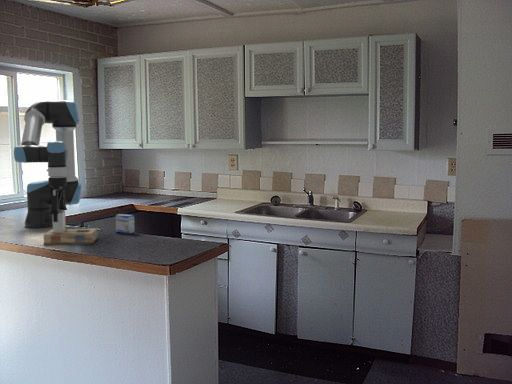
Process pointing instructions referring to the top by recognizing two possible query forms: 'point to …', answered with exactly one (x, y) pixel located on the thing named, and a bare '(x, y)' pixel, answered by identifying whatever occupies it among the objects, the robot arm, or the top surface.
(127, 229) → the medicine box
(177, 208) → the top surface
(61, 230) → the plug
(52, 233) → the socket block
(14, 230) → the top surface
